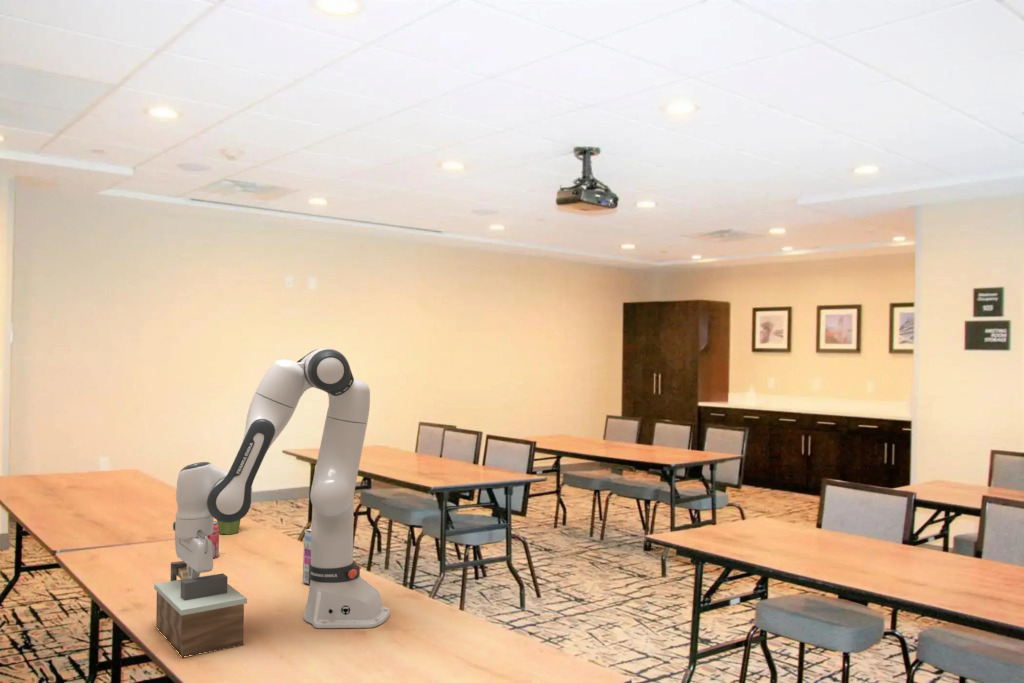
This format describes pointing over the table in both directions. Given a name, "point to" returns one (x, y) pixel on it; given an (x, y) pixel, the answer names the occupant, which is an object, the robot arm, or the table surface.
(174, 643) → the toolbox
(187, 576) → the light wooden beam
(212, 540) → the soda can
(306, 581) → the candy bar box
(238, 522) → the plant pot
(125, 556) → the table surface
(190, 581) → the lid
